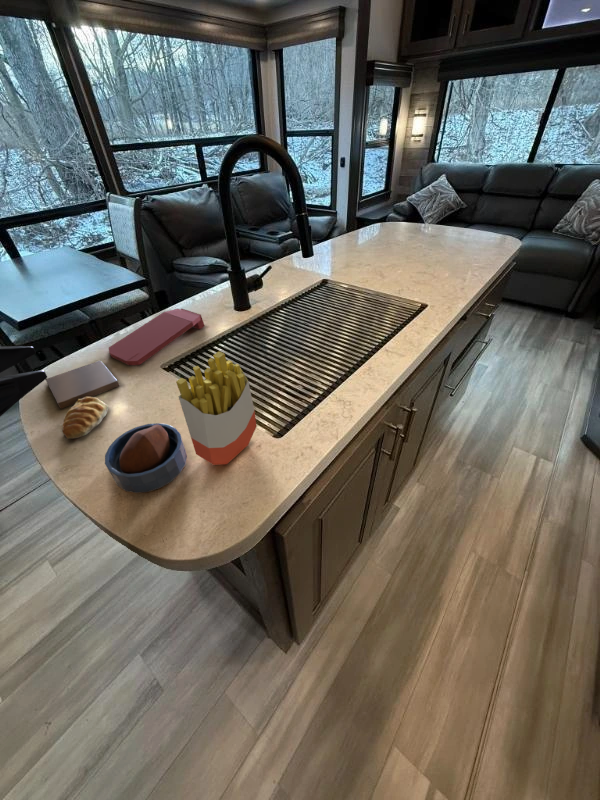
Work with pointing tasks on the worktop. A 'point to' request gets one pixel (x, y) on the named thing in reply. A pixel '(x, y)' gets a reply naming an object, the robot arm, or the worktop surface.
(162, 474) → the bowl
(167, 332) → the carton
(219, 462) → the french fries container
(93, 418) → the pastry
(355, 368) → the worktop surface
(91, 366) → the flat rectangular box
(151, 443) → the potato
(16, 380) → the robot arm
